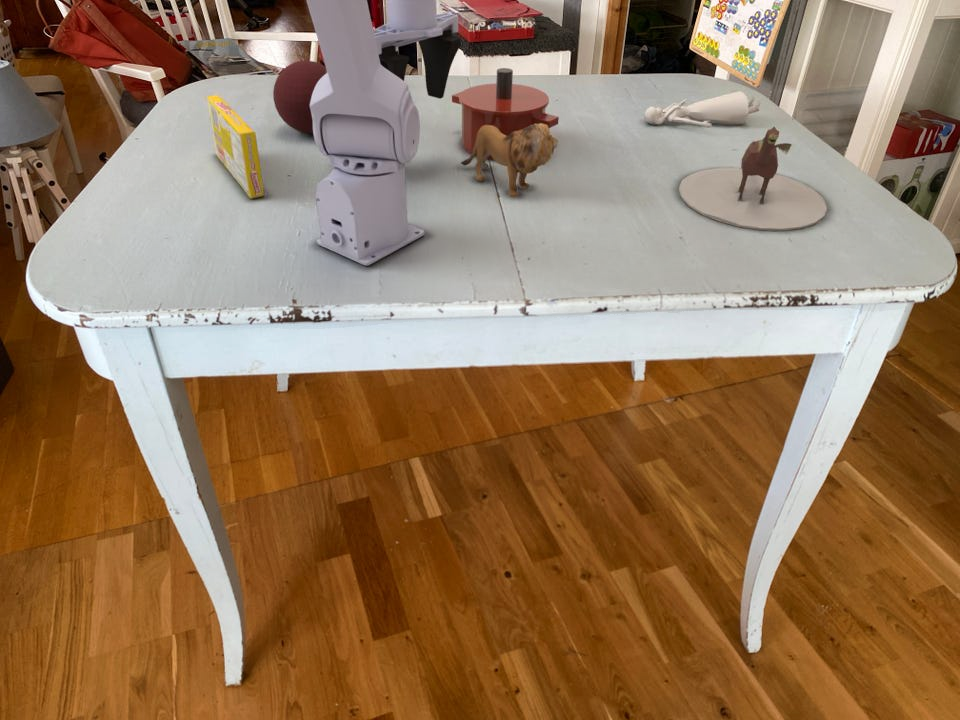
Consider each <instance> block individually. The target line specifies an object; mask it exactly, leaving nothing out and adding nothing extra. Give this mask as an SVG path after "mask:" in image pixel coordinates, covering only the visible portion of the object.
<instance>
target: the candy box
mask: <svg viewBox="0 0 960 720" xmlns="http://www.w3.org/2000/svg"><path fill="white" fill-rule="evenodd" d="M206 102H207V109H208V114H209V119H210V125H211V131H212V136H213V143H214V147H215V154H216V156H217V158H218V159H219V160H220V161H221V163H222V164H223V165H224V167H225V168H226V169H227V170H228V172H229V173H230V175H232V177H233V178H234V180H235V181H236V182H237V183H238V185H239V186H240V187H241V189H242V190H244V192H245V193H246V195H247V196H248V197H249V199H251V200H253V199H256V198H257V199H258V198H260V197H264V195H265V194H264V186H263V184H264V183H263V177H262V170H261V169H262V168H261V162H260V155H259V148H258V142H257V136H256V132H255V131H254V130H253V129H252V128H251V127H250V126H249V125H248V124H247V122H245V121H244V119H242V117H241V116H240V115H238V114H237V113H236V111H235V110H234V109H232V107H231V106H230V105H229V104H228V103H227V102H226V101H225V100H224V99H223V98H222V97H221V96H220V95H219V94H215V95H214V94H213V95H207V96H206Z"/></svg>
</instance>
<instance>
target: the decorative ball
mask: <svg viewBox="0 0 960 720" xmlns="http://www.w3.org/2000/svg"><path fill="white" fill-rule="evenodd" d="M325 74H326V66H325V65H323V64H321V63H319V62H316V61H312V60H300V61H299V60H298V61H295V62H292V63H290V64H289V65H287V66H285V68H283V69H282V70H281V71H280V73H279V74H278V76H277V77H276V79H275V82H274V84H273V91H272V95H273V104H274V106H275V109H276V111H277V113H278V115H279V117H280V118H281V119H282V121H283V122H284V123H285V124H286V125H287V126H289V127H290V128H291V129H293V130H295V131H297V132H300V133H304V134H310V135H311V134H312V135H314V134H313V119H312V114H311V110H310V101H311V97H312V93H313V91H314V88H315V86H316V84H317V82H318V81H319V80H320V79H321V78H322V77H323V76H324V75H325Z"/></svg>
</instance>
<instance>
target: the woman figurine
mask: <svg viewBox="0 0 960 720" xmlns="http://www.w3.org/2000/svg"><path fill="white" fill-rule="evenodd" d="M686 101H687V99H683V100H681V101H680V102H673V103H672V104H670V105H668V106H667V107H665V108H664V109H663V108H662V107H660V106H658V107H654V106H653V105H652V106H650V107H648V108H647V110H645V112H644V120H645V122H646V123H647V124H649V125H653V126H659V125H661V124H663V123H664V122H665V120H666V121H668V122H670V123H673V124H674V123H682V124H690V125H697V126H701V127H704V128H712V127H713V124H720V125H733V126H734V125H735V126H742V125H744V124H745V123H746V122H747V119H748V116H749V115H750V114H755V113H757V112H759V111H760V107H761V104H762V103H761V101H760V100H759V99H757V102H756V103H755V104H754V102H755V96H754V95H751V98H750V99H749V100H748V96H747V95H746V94H745V93H744V92H743V91H741V90H739V91H735V92H731V93H726V94H723V95H719V96H716V97H711V98H708V99H704V100H700V101H696V102H694V103H691V104H689V105H686ZM684 105H686V106H684ZM685 117H687V118H685Z"/></svg>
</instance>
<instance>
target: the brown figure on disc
mask: <svg viewBox="0 0 960 720" xmlns="http://www.w3.org/2000/svg"><path fill="white" fill-rule="evenodd" d="M779 135H780V131H779V130H778V129H777V128H776V126H773V127H772V128H770V129H767V131H766V133H765V135H764V137H763V138H762V139H758V140H756V141H754V140H753V141H752V142H750V143H749V145H748V146H747V148H746V150H745V152H744V153H743V155H742V158H741V163H740V167H715V168H709V169H701V170H698V171H695V172H693V173H691V174H688V175H687V176H686V177H684V178H683V179H682V180H681V182H680V184H679V186H678V194H679V197H680V198H681V200H682V201H683V202H684V204H686V205H687V206H688V207H689V208H690V209H692V210H694V211H695V212H697V213H699V214H700V215H702V216H704V217H706V218H710V219H712V220H715V221H717V222H720V223H723V224H727V225H730V226H735V227H739V228H743V229H751V230H756V231H757V230H758V231H777V232H778V231H779V232H780V231H781V232H783V231H792V230H802V229H804V228H807V227H810V226H813V225H816V224H818V223H819V222H820V221H821V220H822V219H824V217H825V215H826V212H827V209H828V206H827V204H826V202H825V199H824V198H823V197H822V195H820V194H819V193H818V192H817V191H816V190H814V189H813V188H811V187H809V186H808V185H806V184H805V183H802V182H800V181H798V180H795V179H792V178H791V177H788V176H784V175H780V174H777V171H778V167H779V159H778V151H777V149H778V150H779V151H781V152H782V153H783V155H787V154H788V153H789V152H790V149H791V147H792V146H793V144H792V143H788V142H782V143H777V144H776V142H777V140H778V138H779Z"/></svg>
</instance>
